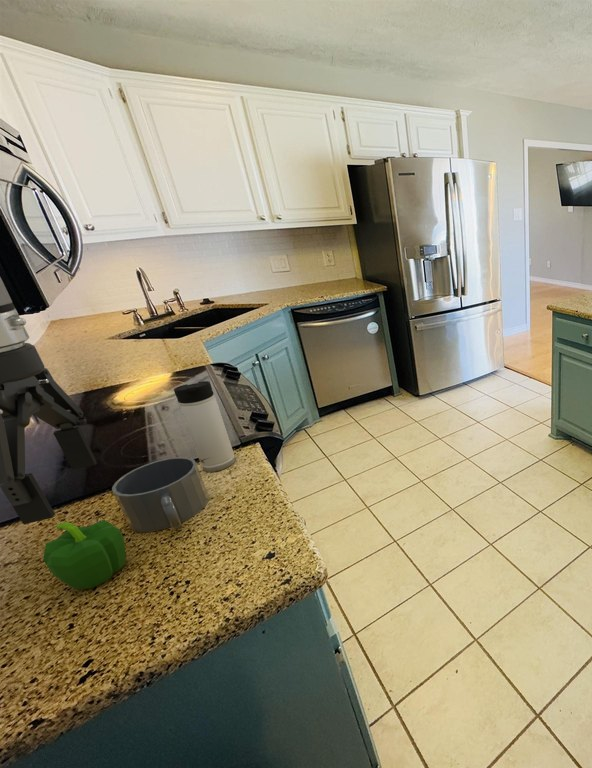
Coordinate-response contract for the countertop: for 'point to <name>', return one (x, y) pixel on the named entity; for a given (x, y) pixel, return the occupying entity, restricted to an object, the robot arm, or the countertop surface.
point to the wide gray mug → (161, 494)
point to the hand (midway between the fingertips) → (64, 490)
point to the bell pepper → (86, 554)
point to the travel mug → (205, 425)
